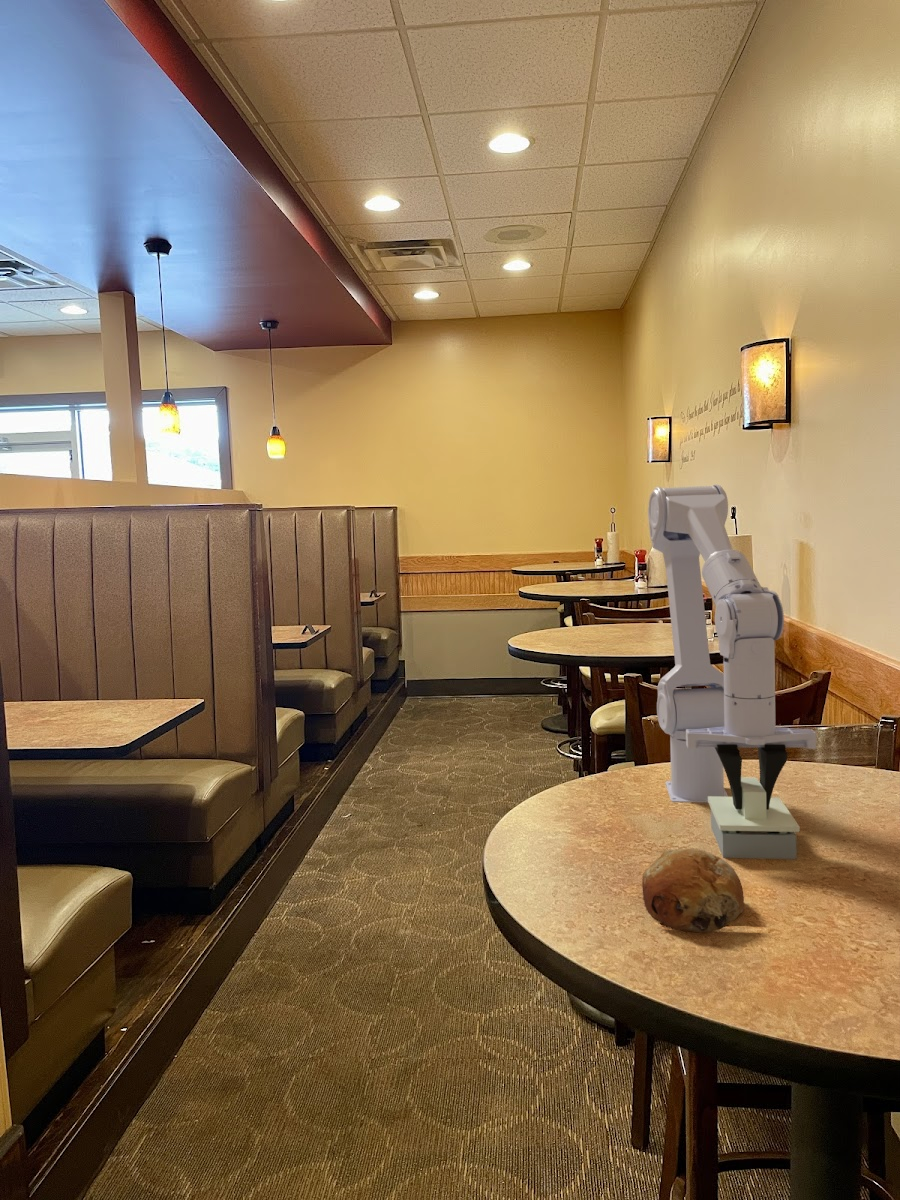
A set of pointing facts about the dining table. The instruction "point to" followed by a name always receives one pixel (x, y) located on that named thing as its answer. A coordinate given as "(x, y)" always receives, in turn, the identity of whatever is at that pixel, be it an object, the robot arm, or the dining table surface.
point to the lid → (752, 811)
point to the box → (755, 844)
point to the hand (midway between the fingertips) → (750, 806)
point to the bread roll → (692, 891)
